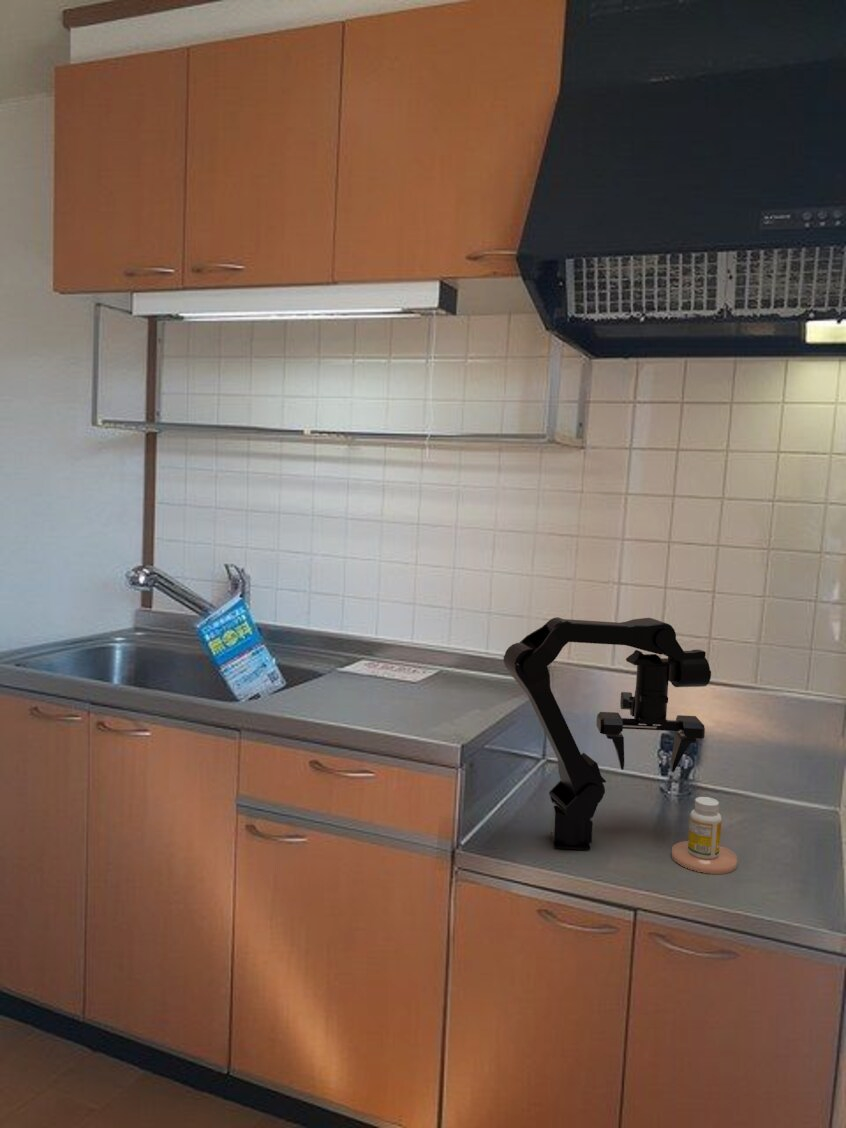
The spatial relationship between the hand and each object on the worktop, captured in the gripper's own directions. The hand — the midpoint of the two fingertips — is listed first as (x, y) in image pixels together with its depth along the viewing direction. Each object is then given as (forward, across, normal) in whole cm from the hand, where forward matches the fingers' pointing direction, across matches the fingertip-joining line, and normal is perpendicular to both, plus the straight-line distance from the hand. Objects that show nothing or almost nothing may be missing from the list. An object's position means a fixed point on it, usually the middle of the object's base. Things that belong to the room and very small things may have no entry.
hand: (647, 770), depth 163 cm
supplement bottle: (+12, -9, +8) cm, 17 cm away
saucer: (+13, -9, +8) cm, 18 cm away
